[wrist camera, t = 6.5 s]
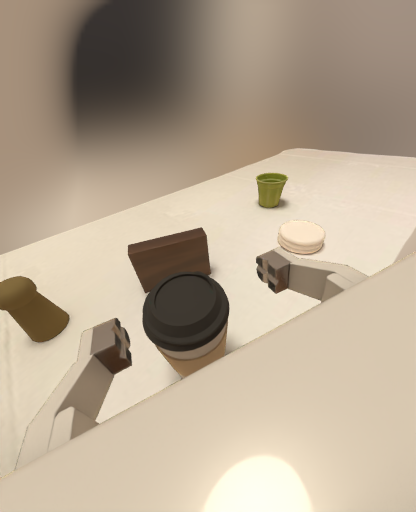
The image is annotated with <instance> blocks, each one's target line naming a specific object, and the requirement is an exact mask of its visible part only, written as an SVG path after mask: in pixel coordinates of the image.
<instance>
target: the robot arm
mask: <svg viewBox="0 0 416 512" xmlns="http://www.w3.org/2000/svg"><path fill="white" fill-rule="evenodd" d="M256 263H257V264H259V265H258V267H257V274H258V276H259V278H260V279H261V281H263V282H264V283H268V287H269V288H270V289H271V290H272V291H273V292H274V293H276V294H277V293H279V292H281V291H283V290H285V289H287V288H288V289H290V290H293V291H296V292H298V293H301V294H304V295H307V296H310V297H312V298H315V299H318V300H321V303H320V304H319V305H317V306H315V307H313V308H311V309H310V310H308V311H306V312H304V313H302V314H300V315H299V316H297V317H295V318H293V319H291V320H289V321H288V322H286V323H284V324H282V325H280V326H278V327H277V328H275V329H273V330H271V331H269V332H267V333H266V334H264V335H262V336H260V337H258V338H257V339H255V340H253V341H251V342H249V343H247V344H246V345H244V346H242V347H240V348H238V349H236V350H235V351H233V352H231V353H229V354H227V355H225V356H224V357H222V358H220V359H218V360H216V361H214V362H213V363H211V364H209V365H207V366H205V367H203V368H202V369H200V370H198V371H196V372H194V373H192V374H191V375H189V376H187V377H185V378H183V379H181V380H180V381H178V382H176V383H174V384H172V385H170V386H169V387H167V388H165V389H163V390H161V391H159V392H158V393H156V394H154V395H152V396H150V397H148V398H147V399H145V400H143V401H141V402H139V403H137V404H136V405H134V406H132V407H130V408H128V409H126V410H125V411H123V412H121V413H119V414H117V415H115V416H114V417H112V418H110V419H108V420H106V421H104V422H103V423H101V424H99V423H97V422H96V421H95V420H96V418H97V415H98V413H99V411H100V408H101V406H102V404H103V401H104V399H105V397H106V394H107V392H108V390H109V387H110V385H111V382H112V380H113V378H114V375H115V374H116V373H118V372H120V371H122V370H124V369H126V368H128V367H130V366H132V361H131V353H130V351H129V350H128V349H129V347H130V339H129V336H128V333H127V331H126V330H125V328H123V327H121V326H120V321H119V320H118V319H117V318H114V319H112V320H109V321H107V322H104V323H102V324H99V325H97V326H95V327H92V328H90V329H88V330H85V331H83V333H82V335H81V341H80V347H79V352H78V358H77V362H76V363H74V364H73V365H72V366H71V368H70V369H69V371H68V372H67V373H66V375H65V376H64V377H63V379H62V380H61V382H60V383H59V384H58V386H57V387H56V389H55V390H54V391H53V393H52V394H51V395H50V397H49V398H48V400H47V401H46V402H45V404H44V405H43V407H42V408H41V409H40V411H39V412H38V413H37V415H36V416H35V418H34V419H33V420H32V422H31V423H30V424H29V426H28V427H27V430H26V434H25V437H24V440H23V443H22V447H21V450H20V453H19V456H18V460H17V463H16V466H15V469H14V471H13V472H11V473H9V474H7V475H5V476H4V477H2V478H0V512H416V252H414V253H412V254H410V255H409V256H407V257H405V258H403V259H401V260H399V261H397V262H396V263H394V264H392V265H390V266H388V267H386V268H385V269H383V270H381V271H379V272H377V273H375V274H374V275H372V276H370V277H369V276H367V275H365V274H363V273H361V272H359V271H357V270H355V269H353V268H352V267H350V266H348V265H342V264H336V263H330V262H323V261H317V260H310V259H304V258H301V259H299V258H297V257H295V256H294V255H292V254H290V253H289V252H287V251H286V250H284V249H282V248H281V247H277V248H275V249H273V250H271V251H269V252H267V253H264V254H262V255H260V256H257V258H256Z"/></svg>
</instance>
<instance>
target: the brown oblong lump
mask: <svg viewBox="0 0 416 512" xmlns="http://www.w3.org/2000/svg"><path fill="white" fill-rule="evenodd" d="M36 289H37V287H36V285H35V284H34V283H33V281H32V280H30V279H29V278H26V277H22V276H17V277H12V278H9V279H6V280H4V281H2V282H0V309H1V310H7V311H8V312H9V314H10V315H11V316H12V317H13V318H14V319H15V321H16V322H17V323H18V324H19V325H20V326H21V327H22V329H23V330H24V331H25V332H26V333H27V334H28V336H29V337H30V338H31V339H32V340H33V341H35V342H44V341H47V340H50V339H52V338H54V337H55V336H57V335H58V334H59V333H60V332H61V331H62V330H63V329H64V328H65V327H66V325H67V324H68V321H69V315H68V314H67V313H66V312H65V311H63V310H62V309H61V308H59V307H58V306H56V305H55V304H54V303H52V302H51V301H49V300H48V299H47V298H45V297H44V296H42V295H41V294H40V293H38V292H37V291H36Z"/></svg>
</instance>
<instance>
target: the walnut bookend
mask: <svg viewBox="0 0 416 512" xmlns="http://www.w3.org/2000/svg"><path fill="white" fill-rule="evenodd" d="M128 256H129V258H130V260H131V263H132V265H133V267H134V269H135V272H136V274H137V276H138V278H139V280H140V283H141V285H142V287H143V289H144V291H145V293H146V292H150V291H151V290H152V289H153V288H154V287H155V286H156V285H157V284H158V283H159V282H160V281H161V280H162V279H164V278H165V277H167V276H169V275H172V274H175V273H179V272H196V271H199V272H203V273H204V274H206V275H209V274H211V272H210V263H209V254H208V245H207V236H206V234H205V232H204V230H203V228H197V229H193V230H189V231H185V232H181V233H177V234H172V235H168V236H164V237H160V238H156V239H152V240H147V241H143V242H139V243H135V244H131V245H128Z"/></svg>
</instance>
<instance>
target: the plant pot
mask: <svg viewBox="0 0 416 512" xmlns="http://www.w3.org/2000/svg"><path fill="white" fill-rule="evenodd" d="M256 180H257V184H258V192H259V204H260V205H262V206H263V207H266V208H272V207H274V206H277V205H278V203H279V200H280V196H281V193H282V190H283V187H284V185H285V183H286V181H287V180H288V177H287V176H286V175H284V174H280V173H265V174H260V175H258V176H257V177H256Z"/></svg>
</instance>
